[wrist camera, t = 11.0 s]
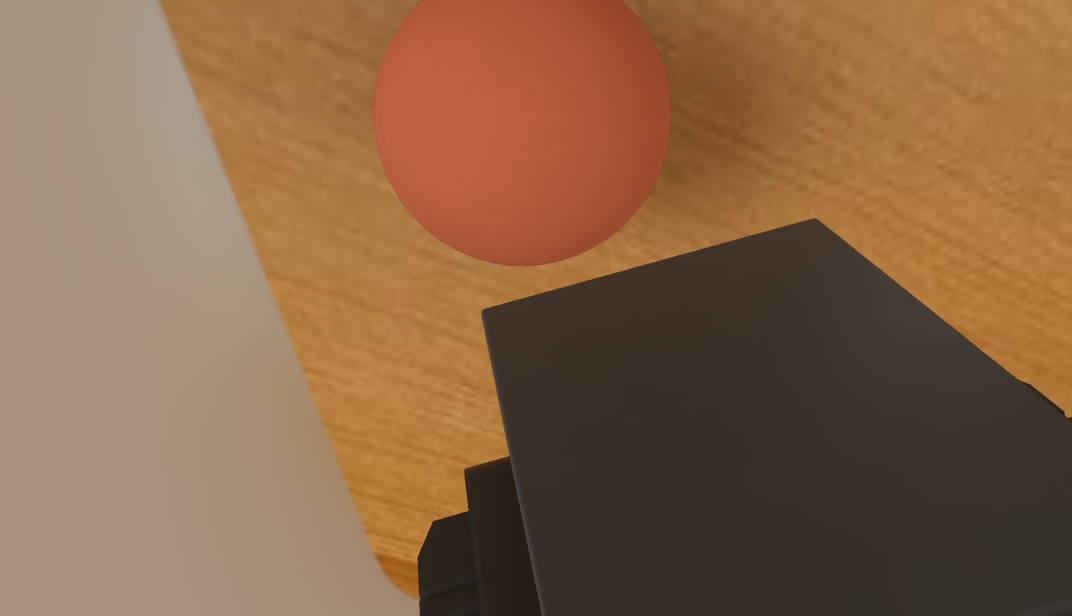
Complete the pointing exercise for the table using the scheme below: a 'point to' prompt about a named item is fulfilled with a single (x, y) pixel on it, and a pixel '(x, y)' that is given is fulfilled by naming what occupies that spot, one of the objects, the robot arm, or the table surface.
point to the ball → (522, 123)
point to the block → (775, 444)
